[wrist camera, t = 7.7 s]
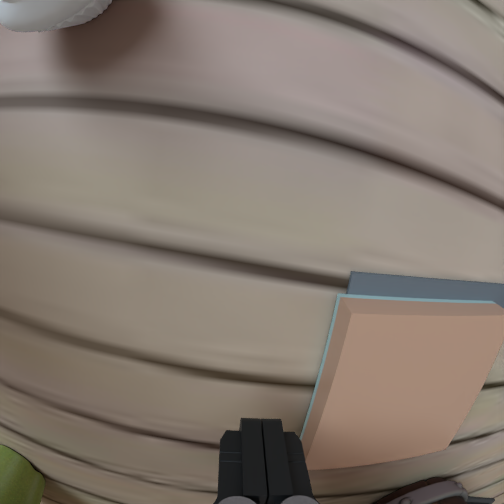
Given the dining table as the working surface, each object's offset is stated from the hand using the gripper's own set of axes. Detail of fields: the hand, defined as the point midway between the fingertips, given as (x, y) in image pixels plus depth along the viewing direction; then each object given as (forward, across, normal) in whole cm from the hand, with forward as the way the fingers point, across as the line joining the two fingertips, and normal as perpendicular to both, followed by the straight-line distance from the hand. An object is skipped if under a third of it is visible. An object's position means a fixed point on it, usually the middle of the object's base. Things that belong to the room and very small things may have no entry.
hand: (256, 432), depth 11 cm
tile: (+3, -3, +1) cm, 4 cm away
